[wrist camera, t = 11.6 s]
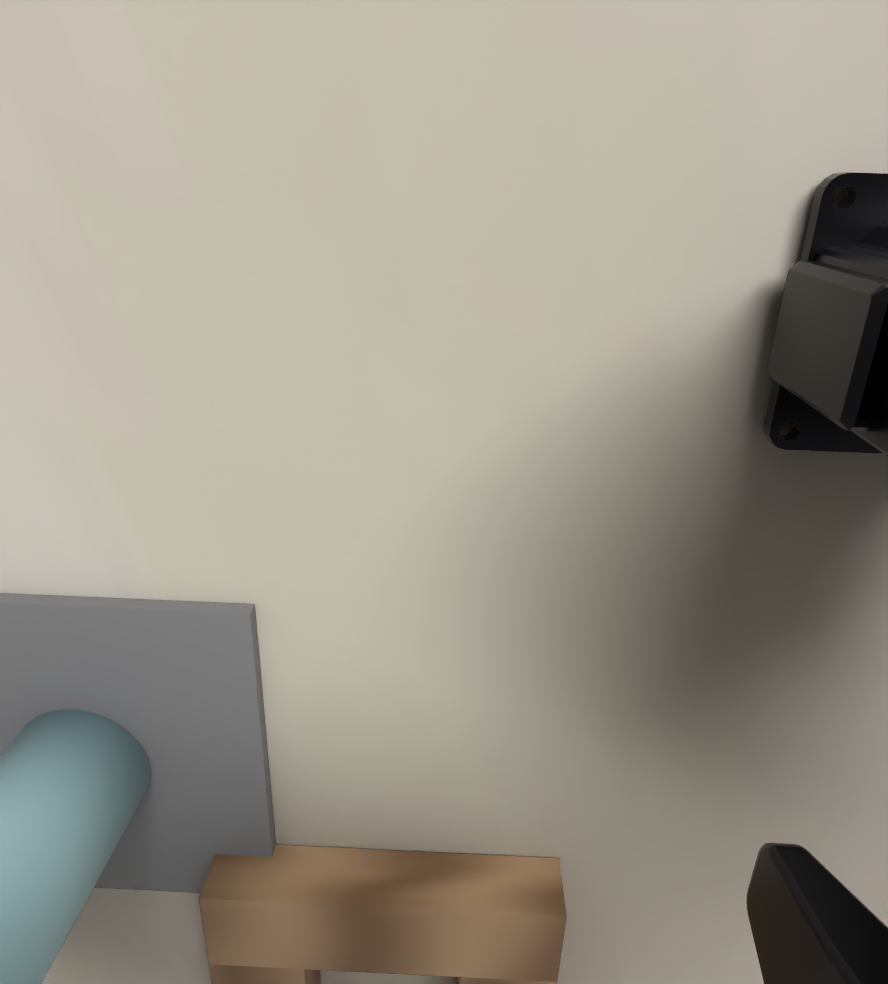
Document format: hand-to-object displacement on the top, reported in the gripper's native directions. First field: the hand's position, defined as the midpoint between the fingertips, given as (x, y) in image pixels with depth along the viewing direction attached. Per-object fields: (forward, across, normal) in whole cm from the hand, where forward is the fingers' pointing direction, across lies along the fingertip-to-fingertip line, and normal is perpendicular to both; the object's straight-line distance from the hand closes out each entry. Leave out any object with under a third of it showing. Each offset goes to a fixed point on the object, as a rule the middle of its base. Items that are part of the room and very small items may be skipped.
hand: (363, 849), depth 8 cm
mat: (+12, +11, +11) cm, 20 cm away
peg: (+12, +11, +11) cm, 20 cm away
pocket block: (+12, +1, +21) cm, 24 cm away
